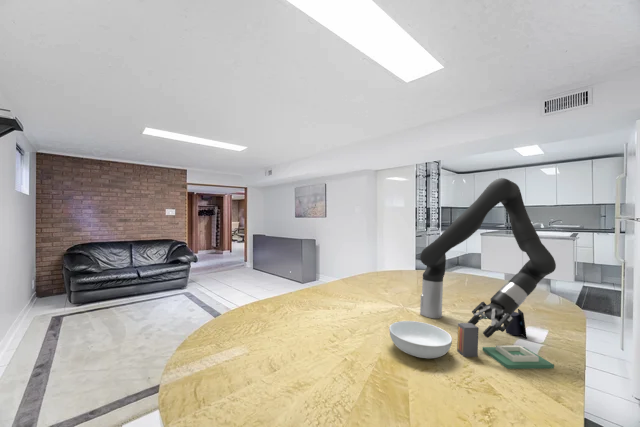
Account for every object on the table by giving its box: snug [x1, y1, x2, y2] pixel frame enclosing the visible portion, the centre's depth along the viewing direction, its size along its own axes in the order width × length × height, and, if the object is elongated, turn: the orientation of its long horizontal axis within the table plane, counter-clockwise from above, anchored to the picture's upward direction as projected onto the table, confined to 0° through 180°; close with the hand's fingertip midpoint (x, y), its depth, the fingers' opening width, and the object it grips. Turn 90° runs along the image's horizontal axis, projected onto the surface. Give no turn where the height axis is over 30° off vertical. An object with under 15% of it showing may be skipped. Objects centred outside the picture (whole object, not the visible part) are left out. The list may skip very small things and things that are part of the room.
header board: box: [482, 345, 555, 370], centre depth 96 cm, size 16×12×3 cm
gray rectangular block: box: [456, 322, 479, 358], centre depth 98 cm, size 5×4×10 cm
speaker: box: [505, 308, 528, 340], centre depth 117 cm, size 8×6×10 cm
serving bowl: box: [388, 320, 453, 359], centre depth 99 cm, size 21×21×7 cm
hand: (477, 330), depth 98 cm, fingers open, 8 cm apart
